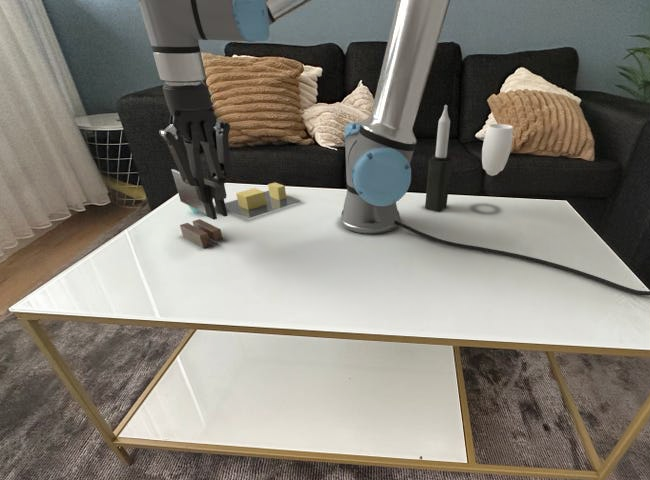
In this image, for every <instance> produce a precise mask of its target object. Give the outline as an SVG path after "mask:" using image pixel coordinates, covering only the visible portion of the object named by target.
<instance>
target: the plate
mask: <svg viewBox="0 0 650 480" xmlns="http://www.w3.org/2000/svg"><path fill="white" fill-rule="evenodd" d="M264 192H265V197H266V203H267V205H264V206H261V207H257V208H254V209H251V210H247V209H245V208H242V207H240V206H239V204H238V199H235V200H231V201H227V202H225V206H226V210H228V211H230V212H232V213H234V214H237V215H239V216H241V217H244V218H246V219H251V218H255V217H257V216H260V215H263V214H266V213H269V212H273V211H275V210H279V209H283V208H285V207H288V206H291V205H295V204H298V203H301V202H302V200H300V199H297V198H294V197H292V196H289V195H286V199H283V200H277V199H275V198H272V197H270V194H269V190H267V191H264Z"/></svg>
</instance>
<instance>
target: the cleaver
mask: <svg viewBox="0 0 650 480" xmlns="http://www.w3.org/2000/svg"><path fill="white" fill-rule="evenodd" d="M171 173H172V176H173V180H174V184H175V187H176V190H177V193H178V197H179V201H180V202H181V203H183V204H185V205H187V206H188V205H189V206H191V207H193V208H195V209H197V210H199V211H201V212H203V213H202V214H205V215H206V211H205V207H204V204H203V203H201V202H200V201H199V200H198V196H197V192H196V188H195V186H190V185H188V184H186V183H184V182H183V179H182V177H181V175H180V172H179V170H178V169H175V168H172V169H171ZM212 181H213V180H210V179H209V178H208V179H207V178H205V177H204V183H205V185H206V186H209V188H210V192H211V197H212V198H214V199H217V200H222V199H224V200H225V199H227V194H226V195H225V190H226V189H225V190H224V186H225V185H224V186H222V185H219V184H217V183H215V181H214V182H212ZM214 199H213V200H214ZM189 206H188V207H189Z"/></svg>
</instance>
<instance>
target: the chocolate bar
mask: <svg viewBox="0 0 650 480" xmlns="http://www.w3.org/2000/svg"><path fill="white" fill-rule="evenodd" d="M179 228H180V232H181V234H182V237H183V238H184V239H185V240H187V241H189V242H191V243H193V244H195V245H197V246H198V247H200V248H202V249H206V248H208V247H211V246H212V244H211V243H213V244H215V245H217V244H218V242H219V241H222V240H223V234H222V231H221V228H219V227H217V226H215V225H213V224H211V223H210V222H209V223H208V222H207V221H205V220H203V219H201V218H198V219H196V220H192V224H191V223H189V222H185V223H182V224H179Z"/></svg>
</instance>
